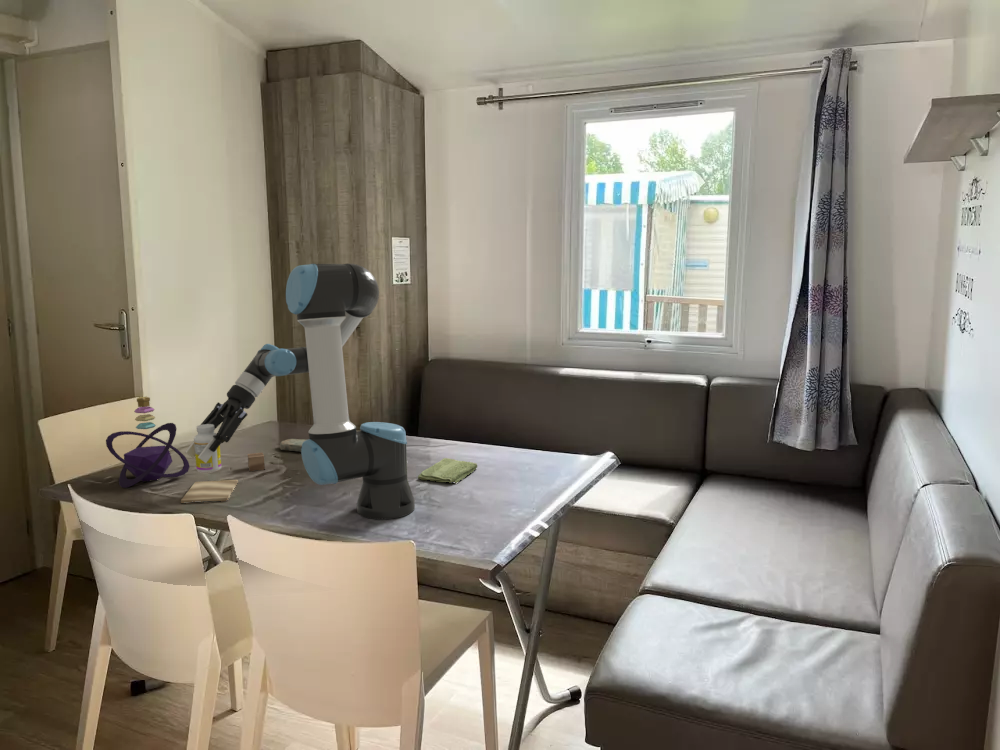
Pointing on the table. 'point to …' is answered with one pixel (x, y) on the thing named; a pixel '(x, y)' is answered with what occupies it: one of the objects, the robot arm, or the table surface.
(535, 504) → the table surface
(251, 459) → the walnut block
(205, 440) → the supplement bottle
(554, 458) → the table surface
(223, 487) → the pad
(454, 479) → the washcloth
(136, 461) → the decorative bottle
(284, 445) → the long grey stone
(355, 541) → the table surface
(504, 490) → the table surface
